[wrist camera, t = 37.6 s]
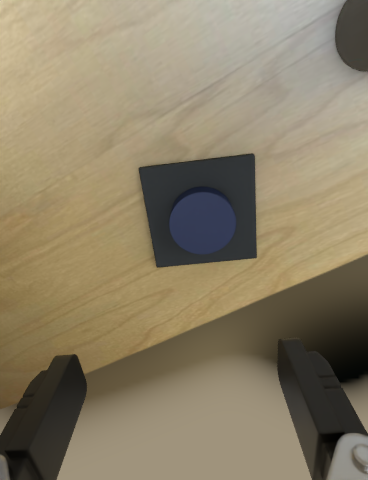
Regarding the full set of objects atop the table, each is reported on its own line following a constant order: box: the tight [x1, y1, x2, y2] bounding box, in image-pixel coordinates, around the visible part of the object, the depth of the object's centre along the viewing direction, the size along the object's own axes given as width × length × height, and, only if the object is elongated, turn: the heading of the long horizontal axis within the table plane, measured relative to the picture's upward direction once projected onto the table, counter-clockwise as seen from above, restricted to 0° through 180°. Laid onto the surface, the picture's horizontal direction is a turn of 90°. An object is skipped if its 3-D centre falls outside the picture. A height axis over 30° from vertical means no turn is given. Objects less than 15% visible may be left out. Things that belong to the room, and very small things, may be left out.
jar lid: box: [169, 187, 236, 254], centre depth 26 cm, size 6×6×2 cm
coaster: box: [139, 154, 257, 267], centre depth 27 cm, size 10×10×1 cm
